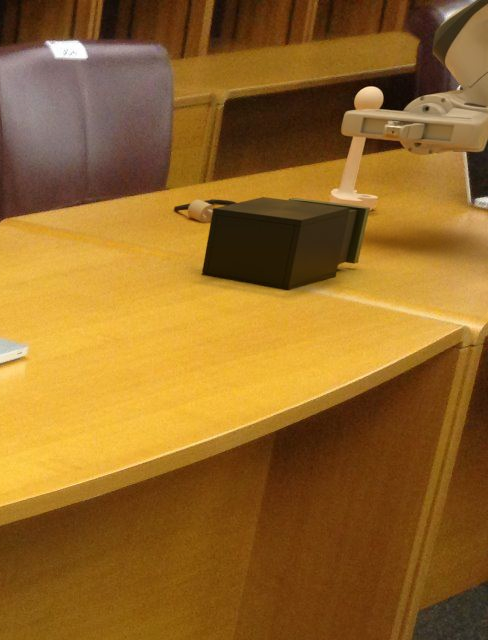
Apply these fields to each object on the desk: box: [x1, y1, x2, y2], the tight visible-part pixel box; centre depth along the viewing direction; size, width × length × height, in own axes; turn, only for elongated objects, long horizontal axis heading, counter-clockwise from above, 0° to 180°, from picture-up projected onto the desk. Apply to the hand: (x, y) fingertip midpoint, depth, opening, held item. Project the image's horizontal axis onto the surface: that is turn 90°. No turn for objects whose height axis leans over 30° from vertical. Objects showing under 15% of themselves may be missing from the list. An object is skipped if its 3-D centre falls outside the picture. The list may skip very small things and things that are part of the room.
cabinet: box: [201, 196, 350, 291], centre depth 214 cm, size 15×13×10 cm
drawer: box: [288, 197, 370, 265], centre depth 221 cm, size 18×11×8 cm, turn 132°
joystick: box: [328, 86, 384, 212], centre depth 263 cm, size 11×8×20 cm
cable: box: [173, 198, 237, 223], centre depth 260 cm, size 16×16×4 cm
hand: (392, 132), depth 228 cm, fingers closed
